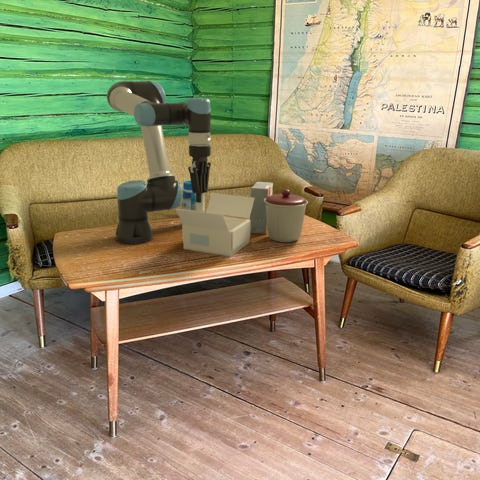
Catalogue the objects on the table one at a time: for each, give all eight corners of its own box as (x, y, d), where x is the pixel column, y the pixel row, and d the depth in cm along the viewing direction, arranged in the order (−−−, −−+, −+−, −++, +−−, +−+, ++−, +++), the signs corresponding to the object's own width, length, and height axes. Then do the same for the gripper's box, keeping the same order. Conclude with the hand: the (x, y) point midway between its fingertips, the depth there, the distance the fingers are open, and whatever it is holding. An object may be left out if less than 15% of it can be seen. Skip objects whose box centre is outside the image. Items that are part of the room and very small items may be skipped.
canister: (273, 247, 192) (276, 195, 185) (255, 234, 208) (256, 186, 201) (313, 243, 198) (317, 192, 192) (293, 230, 214) (295, 183, 208)
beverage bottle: (200, 228, 216) (200, 183, 210) (181, 228, 215) (180, 183, 209) (201, 222, 224) (200, 180, 218) (182, 222, 223) (181, 180, 217)
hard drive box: (266, 234, 208) (267, 189, 202) (248, 233, 210) (249, 188, 204) (271, 224, 223) (273, 182, 217) (255, 223, 224) (256, 181, 218)
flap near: (183, 223, 185) (183, 224, 185) (176, 208, 178) (175, 209, 178) (229, 230, 178) (229, 231, 177) (223, 214, 171) (223, 215, 171)
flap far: (211, 192, 203) (212, 193, 204) (206, 212, 201) (206, 212, 201) (254, 197, 196) (254, 198, 197) (248, 218, 194) (249, 218, 194)
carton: (181, 249, 189) (181, 224, 186) (203, 236, 204) (203, 213, 201) (232, 257, 181) (232, 231, 178) (250, 243, 196) (251, 219, 193)
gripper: (200, 147, 161) (201, 216, 168) (217, 143, 172) (217, 207, 179) (180, 146, 163) (182, 213, 171) (198, 141, 175) (199, 205, 182)
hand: (200, 210), depth 175 cm, fingers closed
